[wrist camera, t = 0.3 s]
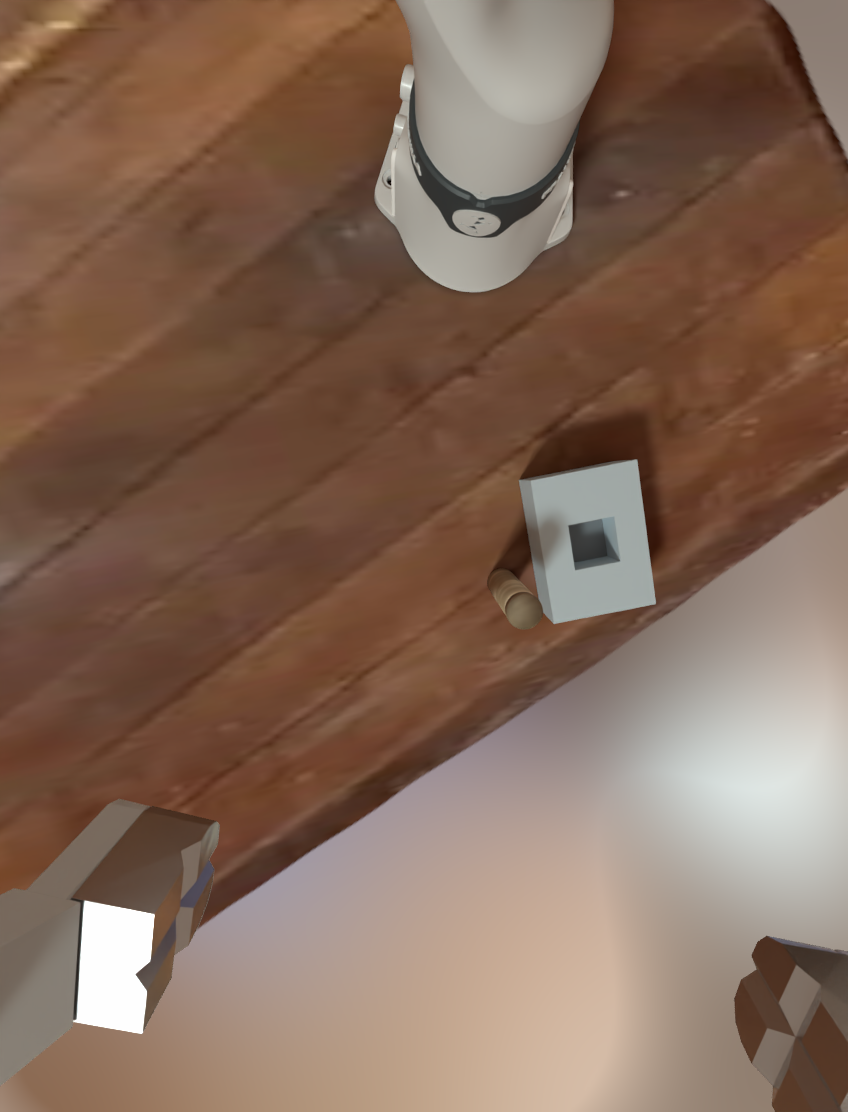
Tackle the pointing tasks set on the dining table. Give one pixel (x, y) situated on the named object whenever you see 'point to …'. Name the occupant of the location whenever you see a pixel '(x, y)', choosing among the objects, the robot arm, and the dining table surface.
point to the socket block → (588, 540)
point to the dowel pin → (515, 599)
